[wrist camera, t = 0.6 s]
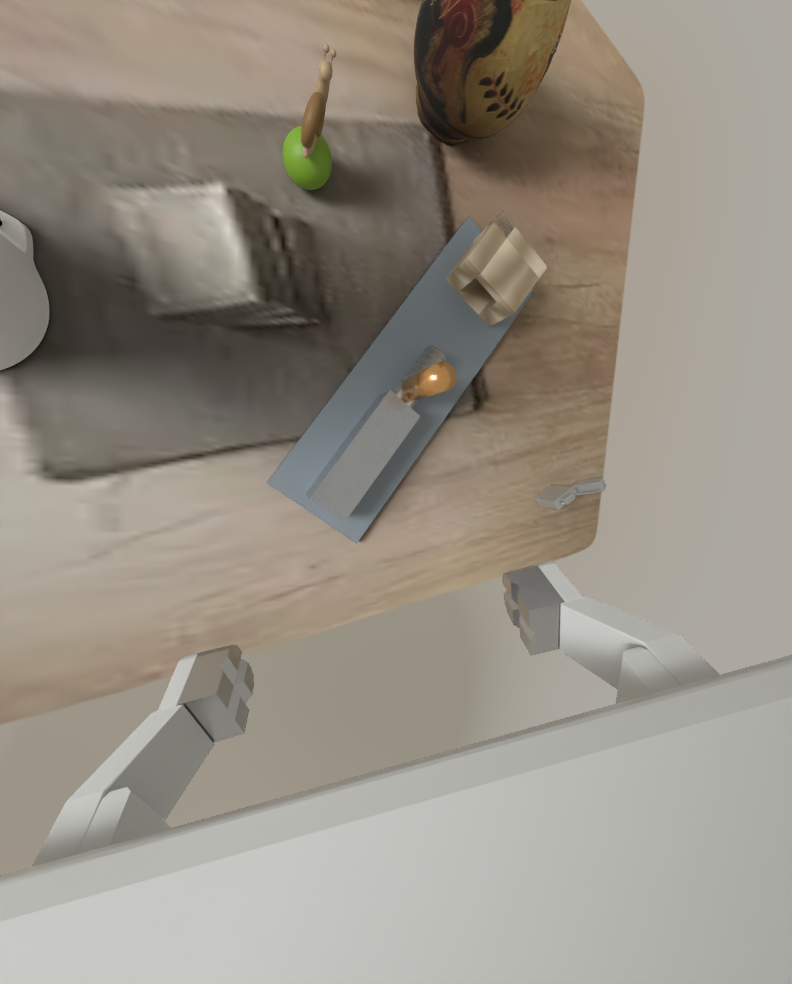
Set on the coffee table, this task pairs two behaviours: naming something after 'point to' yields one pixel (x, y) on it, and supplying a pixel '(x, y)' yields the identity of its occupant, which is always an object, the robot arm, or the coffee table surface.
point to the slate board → (417, 323)
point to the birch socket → (497, 271)
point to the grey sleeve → (363, 455)
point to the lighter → (568, 493)
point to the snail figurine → (311, 137)
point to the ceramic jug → (481, 62)
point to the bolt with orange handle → (426, 377)
